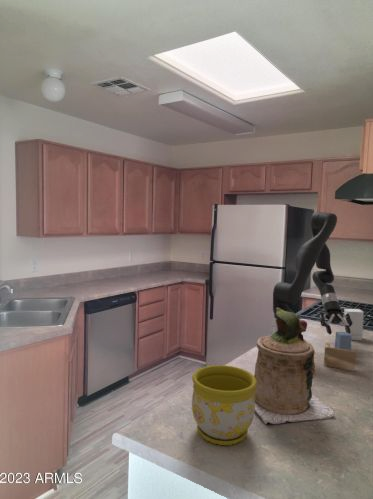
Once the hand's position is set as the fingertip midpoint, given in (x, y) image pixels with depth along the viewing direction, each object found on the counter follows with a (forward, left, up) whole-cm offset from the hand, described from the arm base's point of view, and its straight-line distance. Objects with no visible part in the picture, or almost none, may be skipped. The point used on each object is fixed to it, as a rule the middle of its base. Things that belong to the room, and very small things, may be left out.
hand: (339, 333), depth 171 cm
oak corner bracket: (-8, -11, -9) cm, 16 cm away
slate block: (-1, -4, -9) cm, 10 cm away
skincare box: (+23, +18, -10) cm, 31 cm away
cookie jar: (-51, -36, -10) cm, 63 cm away
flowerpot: (-77, -48, -10) cm, 91 cm away
